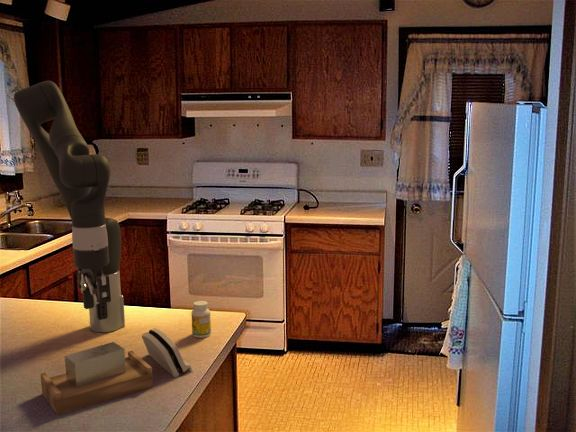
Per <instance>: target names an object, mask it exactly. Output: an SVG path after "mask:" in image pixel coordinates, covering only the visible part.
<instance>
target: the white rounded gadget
mask: <svg viewBox="0 0 576 432" xmlns="http://www.w3.org/2000/svg"><path fill="white" fill-rule="evenodd" d="M141 339H142V341H143V343H144V346H145V348H146V350H147V353H148V355H149V356H150V357H151V358H152V357H153V358H152V359H154V360H155V361H156V362H157V363H158V364H159V365H160V366H161V367H162V368H164V369H165V370H166V371H167V372H169V374H170V375H172V376H173V377H175V378H176V377H179V376H180V372H181V373H182V372H183V373H185V372H186V371H187V370H188V371H189V372H190V373H192V372H193V368H192V366H191V365H190V364H189V363H187V362H186V361H185V360H183V359H184V358H183V357H182V355H181V353H180V350H179V349H178V347H177V346H176V344H175V343H174V342H173V340H171V338H170V337H168V335H166V333H164V331H162V330H160V329H158V328H156V327H154V328H150V329H149V330H148V332H146V331H145V332H144V333H143V334H142V335H141Z"/></svg>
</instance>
